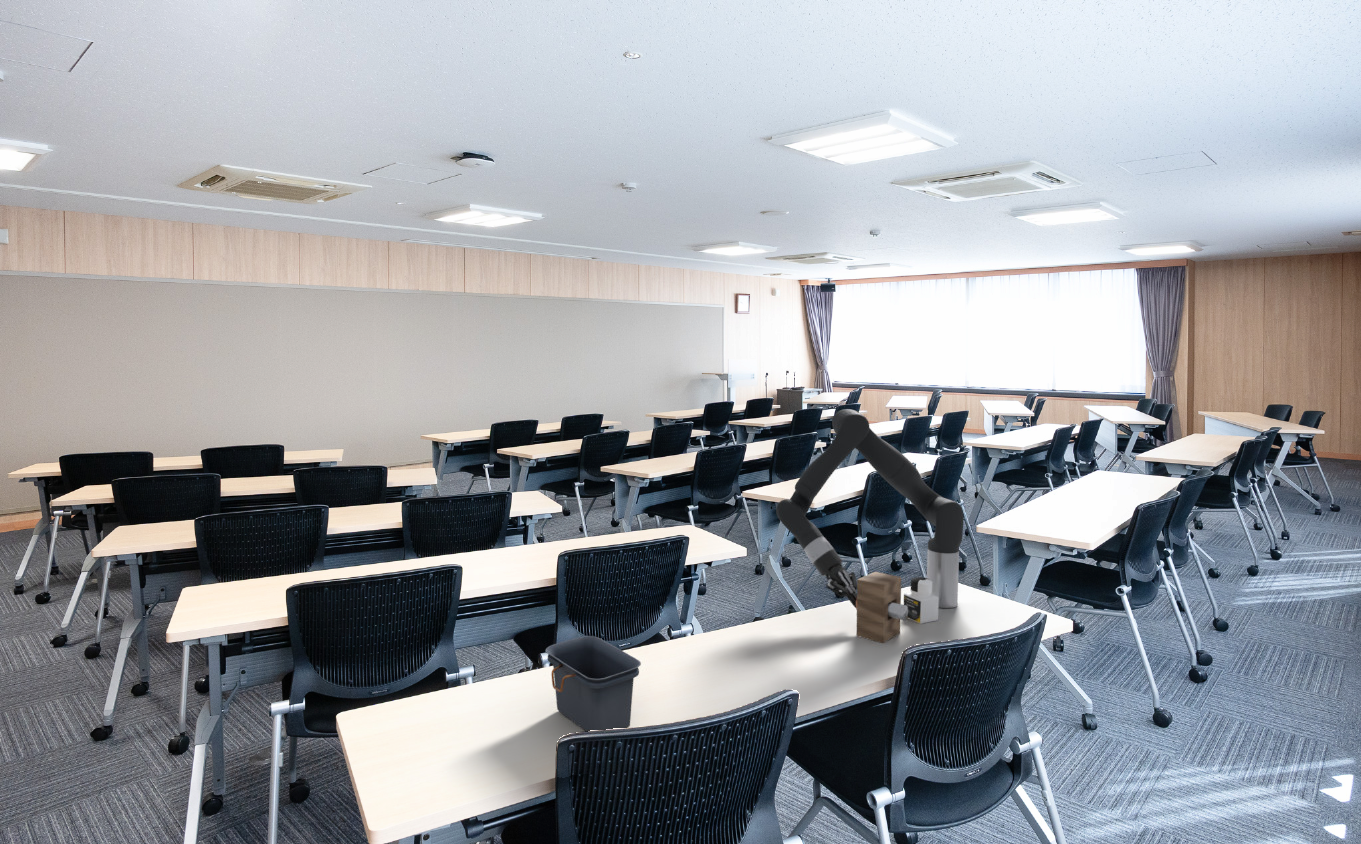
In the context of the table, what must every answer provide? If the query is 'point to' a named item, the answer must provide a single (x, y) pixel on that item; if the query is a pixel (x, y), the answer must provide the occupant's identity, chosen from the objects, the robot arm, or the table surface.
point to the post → (877, 606)
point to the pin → (896, 610)
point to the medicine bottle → (921, 601)
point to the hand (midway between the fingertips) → (859, 605)
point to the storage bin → (593, 682)
